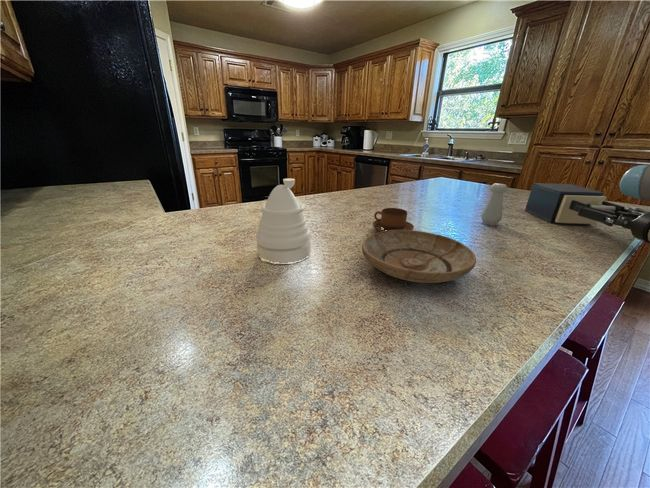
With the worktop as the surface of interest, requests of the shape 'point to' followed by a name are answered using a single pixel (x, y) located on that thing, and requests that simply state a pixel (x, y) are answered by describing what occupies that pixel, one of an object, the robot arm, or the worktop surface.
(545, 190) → the cabinet
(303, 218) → the honey pot
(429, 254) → the ceramic bowl
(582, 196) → the drawer
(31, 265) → the worktop surface
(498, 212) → the salt shaker
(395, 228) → the cup and saucer
